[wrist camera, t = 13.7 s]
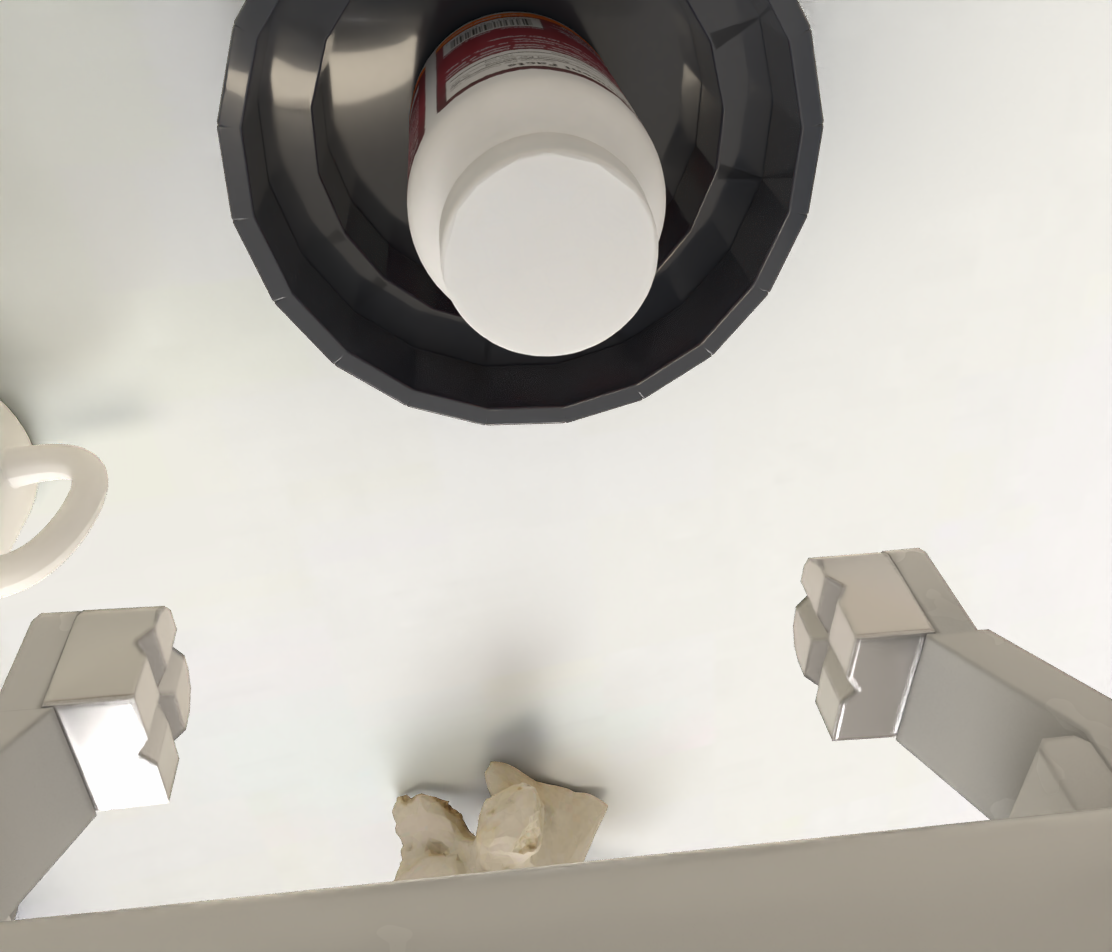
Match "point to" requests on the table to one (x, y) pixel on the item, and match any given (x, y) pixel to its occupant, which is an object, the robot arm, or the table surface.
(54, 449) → the cup
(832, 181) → the table surface
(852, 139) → the table surface
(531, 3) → the bowl
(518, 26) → the pill bottle
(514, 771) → the bone
